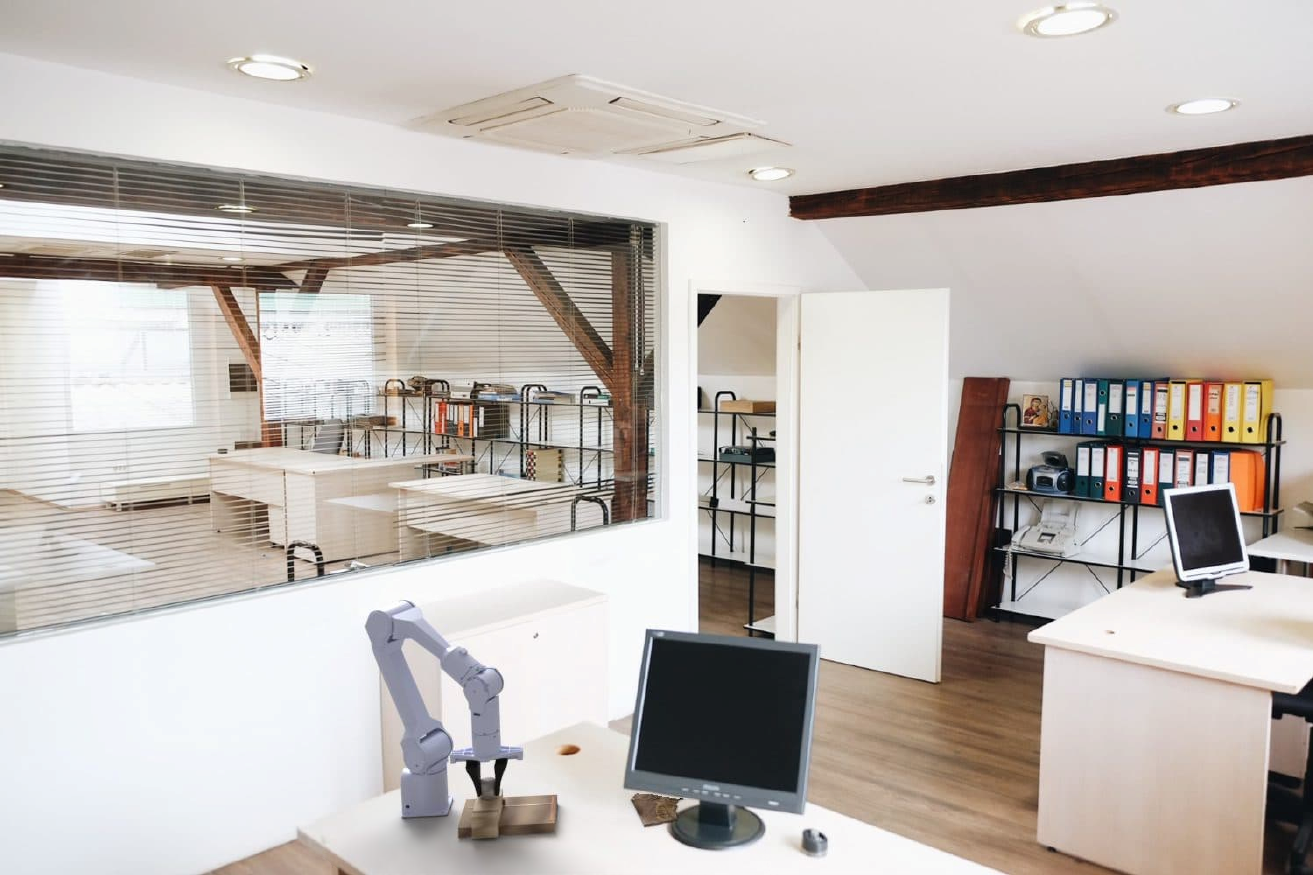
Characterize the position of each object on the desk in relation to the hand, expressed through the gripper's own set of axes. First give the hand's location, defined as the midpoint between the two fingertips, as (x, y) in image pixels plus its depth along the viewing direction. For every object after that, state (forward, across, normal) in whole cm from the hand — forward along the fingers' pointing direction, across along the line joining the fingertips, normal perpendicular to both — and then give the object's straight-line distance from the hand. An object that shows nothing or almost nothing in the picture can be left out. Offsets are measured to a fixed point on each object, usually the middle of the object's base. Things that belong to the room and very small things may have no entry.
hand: (488, 794), depth 193 cm
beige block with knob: (+5, 0, -2) cm, 5 cm away
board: (+6, +4, 0) cm, 7 cm away
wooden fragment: (+6, +35, +7) cm, 36 cm away
